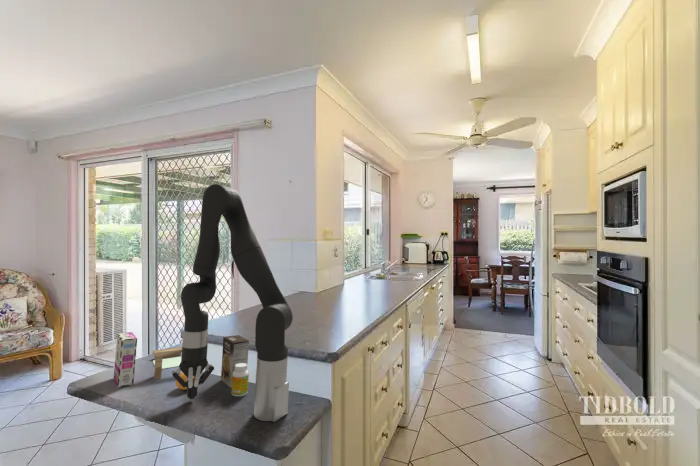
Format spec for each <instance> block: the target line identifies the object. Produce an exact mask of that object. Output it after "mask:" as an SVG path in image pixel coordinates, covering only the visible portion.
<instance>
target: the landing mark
mask: <svg viewBox="0 0 700 466" xmlns="http://www.w3.org/2000/svg"><path fill="white" fill-rule="evenodd" d="M181 357H182V355H181V356H179V357H172V358H165V359H162V370H165V369H171V368H179V365H180V363H181ZM152 363H153V366H154V367H155V359H154V360H152Z"/></svg>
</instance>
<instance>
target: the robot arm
mask: <svg viewBox="0 0 700 466" xmlns="http://www.w3.org/2000/svg"><path fill="white" fill-rule="evenodd" d="M202 195H203V196H202V200H201V201H202V202H201V212H200V215H201V216H200V229H199V237H198V238H199V239H198V244H197V249H196V253H195V257H194V261H193V265H192V273H193V274H194V275H196V276H199V281H197V282H196V281H195V282H190V283H187V284H185V285H184V287H182V290H181V293H180V302H181V306H182V312H183V315H184V326H183V327H184V328H183V334H182V344H181V347H182V352H181V356H182V357H181V356H180V357H181V363H180V365H179V367H177V368H176V369H175V370H173V371H171V375H172V377H173V378H174V380H175V381H176V380H177V381H178V382H179V383H180V384H181V385H182V387H187V389H186V397H187V398H188V399H189V400H194V399H195V398H196V397H197V396H198V387H199V386H200V385H203V384H204V383H205V382H206V380H207V379H208V377H209V376H210V375H211V374H212V373H213V371H214V370H215V366H214V365H213V364H210V363H209V361H208V357H207V356H208V344H209V331H208V330H209V313H208V312H207V311H205V310H201V306H200V305H201V304H205V303H209V302H211V301H212V300H213V299H214V297H215V294H216V291H217V276H216V275H217V273H216V271H217V267H218V262H219V259H220V254H221V243H220V237H219V225H220V220H221V217H223V218H224V220H225V222H226V224H227V227H228V230H229V233H230V254H231V257H232V259H233V262H234V265H235V266H236V269H237V270H238V273H239V274H240V276H241V277H242V279H243V280H244V281H245V282H246V283H247V284H248V286H250V287H251V288H252V290H253V291H254V292H255V294H256V295H257V297H258V299H259V301H260V303H261V306H262V308H261V309H260V310H259V311H258V313H257V315H256V319H255V332H254V333H255V335H254V336H255V337H254V338H255V340H254V344H255V350H256V369H255V371H256V373H255V387H254V407H253V416H254V418H255V419H256V420H259V421H262V422H274V423H275V422H277V421H278V420H280V419H281V418H283V417H285V416H286V415H287V414H288V412H289V411H288V408H289V393H290V392H289V389H290V387H289V386H290V382H289V381H287V380H288V379H287V377H288V359H289V358H288V357H289V356H288V355H289V349H288V345H286V343H285V340H286V339H285V335H286V334H285V333H286V330H287V329H289V328H290V327H291V325H292V323H293V319H294V318H293V311H292V309H291V307H290V306H289V304H288V302H287V300H286V299H285V297H284V295H283V294H282V291H281V290H280V287H279V286H278V284H277V282H276V279H275V278H274V275H273V272H272V270H271V268H270V266H269V264H268V263H269V262H268V261H267V258H266V256H265V254H264V252H263V250H262V247H261V244H260V243H259V241H258V239H257V237H256V235H255V232H254V230H253V228H252V226H251V224H250V221H249V219H248V216H247V213H246V209H245V207H244V203H243V199H242V197H241V195H240V193H239V192H238V191H237V190H236V189H235V188H232V187H230V186H226V185H223V184H218V183H213V184H211V185H209V186H208V187H207V188H206V189H205V190H204V192H203V194H202ZM182 372H183V373H184V374H185V376H186V377H187V382H186V381H184V380H183V379H182V378H181V377H180V375H181V373H182ZM192 380H193V385H192Z"/></svg>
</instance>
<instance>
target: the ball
mask: <svg viewBox="0 0 700 466" xmlns="http://www.w3.org/2000/svg"><path fill="white" fill-rule="evenodd" d="M180 373H181V375H180V377H181V378H182V379H183V380H184V381H186V382H187V377H186V376H185V374H184V373H183V372H182V371H181V372H180ZM192 385H193V380H192ZM175 386H176V387H177V388H178V390H181V391H182V390H183V391H187V387H182V385H181V384H180V383H179V382H178V381H177V380H176V379H175Z"/></svg>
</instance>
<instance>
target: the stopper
mask: <svg viewBox="0 0 700 466" xmlns="http://www.w3.org/2000/svg"><path fill="white" fill-rule="evenodd" d="M181 356H182V352H180V353H173V354H166V355H163V358H162V359H167V358H174V357H181ZM154 360H155V357H154Z"/></svg>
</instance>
